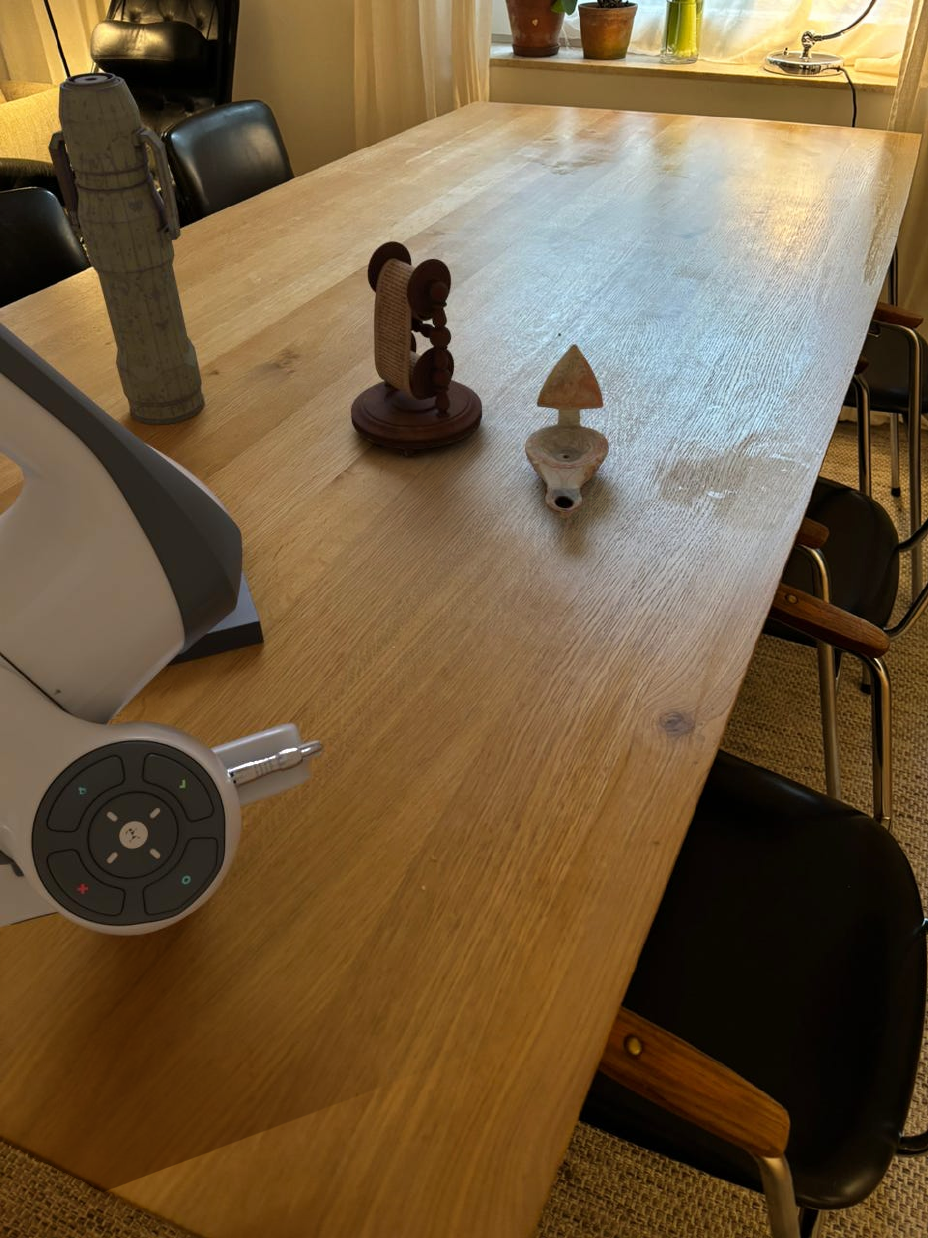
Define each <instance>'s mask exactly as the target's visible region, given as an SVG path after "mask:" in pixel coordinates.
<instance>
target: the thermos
mask: <svg viewBox="0 0 928 1238" xmlns="http://www.w3.org/2000/svg"><path fill="white" fill-rule="evenodd" d="M58 89H59V90H58V91H59V92H58V121H59V124H60V128H61V130H58V131H56V132H53V133H52V135H51V138H50V141H49V144H48V146H47V148H48V152H49V155H50V159H51V162H52V166H53V168H54V173H55V175H56V179H57V183H58V185H59V189H60V192H61V196H62V199H63V202H64V205H65V208H66V213H67V217H68V221H69V226H70V229H71V230H72V231H73V232H74V233H75V234H77V235H78V237H80V238H82V239H83V242H84V245H85V248H86V253H87V256H88V260H89V263H90V266H91V267H92V268H93V269H94V271H95V272H96V274H97V277H98V280H99V284H100V288H101V292H102V295H103V299H104V303H105V307H106V311H107V314H108V315H107V316H108V319H109V321H110V326H111V329H112V334H113V337H114V342H115V345H116V348H117V350H116V359H115V365H116V368H117V373H118V376H119V380H120V384H121V387H122V391H123V395H124V396H125V397H126V399H127V402H128V406H129V412H130V415H131V416H132V417H133V419H134V420H135V421H138V422H140V423H142V424H147V425H159V426H160V425H169V424H176V423H179V422H183V421H186V420H188V419H190V418H192V417H194V416H196V415H198V414H199V413H200V412H201V411H202V410H203V408H204V407H205V397H204V394H203V391H202V385H203V383H202V375H201V372H200V371H201V370H200V366H199V361H198V356H197V351H196V348H195V346H194V344H193V342H192V341H191V339H190V338H189V335H188V333H187V328H186V327H187V326H186V323H185V317H184V312H183V308H182V304H181V298H180V295H179V289H178V284H177V280H176V275H175V271H174V265H173V264H174V258H175V249H174V244H173V241H177V240H178V239H179V238H180V237H181V226H180V225H181V224H180V218H179V209H178V206H177V201H176V195H175V190H174V186H173V181H172V176H171V170H170V165H169V161H168V155H167V151H166V150H167V149H166V145H165V143H164V141H162V139H161V138H160V137H159V136H158V134H157V133H156V132H155V130H149V129H147V127H146V126H142V119H141V115H140V111H139V110H140V109H139V107H138V104H137V102H136V100H135V98H134V96H133V94H132V93H131V91H130V88H129V87H128V85H127V83H126V81H125V79H124V78H122V77H120V76H116V75H115V74H114V73H110V72H104V71H103V72H101V71H100V72H99V71H98V72H97V71H95V72H85V73H78V74H74V75H71V76H69V77H66V78H65V80H64V81H62V82H61V83H60V84H59V88H58ZM147 145H148V147H149V148H150V150H151V151H152V154H153V158H154V165H155V168H156V173H157V179H158V183H159V188H160V192H161V194H160V192H159V190H158V189H157V187H156V185H155V180H154V176H153V173H152V172H151V171H150V167H149V162H150V158H149V153H148V147H147ZM73 171H74V173H73ZM74 174H75V176H74ZM74 177H75V178H76V180H75V178H74Z"/></svg>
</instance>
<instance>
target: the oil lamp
mask: <svg viewBox="0 0 928 1238" xmlns="http://www.w3.org/2000/svg"><path fill="white" fill-rule="evenodd" d="M536 406H537V407H538V408H546V409H553V410H554V409H555V410H557V411H558V413H557V414H558V415H557V422H556V424H551V425H549V426H548V425H547V426H545V427H542V428H539V429H538V430H537V429H536V430H535V431H533V432H532V433H531V434H530V435H529V436H528V437H527V439H526V440H525V444H524V452H525V455H526V458H527V459H528V463H529V464H530V466H531V468H532V470H533V471H534V472H535V474H537V475H538V476H539V477H540V479H542V480H543V481H544V483H545V484H546V487H547V488H546V490H547V493H546V495H545V498H544V499H545V503H546V506H547V507H548V508H549V510H550V511H551V512H552V513H554V514H555V515H557V516H558V517H560V518H562V519H566V518H568V517H570V516H572V515H574V514H575V512H577V511H578V510H579V509H580V507H581V506H582V504H583V497H582V494H581V488H582V487H583V485H584V484H585V483H586V482H588V481H589V480H590V479H592V478H593V477H594V476H595V475H596V473H597V472H598V471H599V470H600V468H601V466H602V464H603V463H604V461H605V460H606V458H607V456H608V454H609V452H610V443H609V440H608V438H607V437H606V436H605V435H604V434H603V433H601V432H600V431H598V430H596V429H593V428H590V427H587V426H583V425H581V410H595V409H601V408H603V407H604V398H603V394H602V390H601V387H600V384H599V381H598V379H597V377H596V375H595V372H594V370H593V369H592V366H591V365H590V363H589V362H588V360H587V359H586V357H585V355H584V354H583V353H582V351H581V349H580V348H579V346H578V344H576V343H573V344H571V345H570V346H569V348H568V349H567V350H566V352H565V353H564V354H563V355H562V356H561V357H560V359H559V360H558V361H557V363H556V364H554V366H553V368H552V369H551V371H550V373H549V374H548V375H547V377H546V379H545V381H544V382H543V385H542V387H541V389H540V391H539V393H538V397H537V400H536Z"/></svg>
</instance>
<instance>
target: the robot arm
mask: <svg viewBox="0 0 928 1238" xmlns="http://www.w3.org/2000/svg"><path fill="white" fill-rule="evenodd" d="M0 453H1V454H2V455H4V456H5V457H6V458H8V459H9V460H10V461H12V462H13V463H14V464H16V465H17V467H20V469H21V471H22V474H23V484H22V485H23V486H22V489H21V492H20V494H19V495H18V497H17V498H16V500H15V501H14V502H13V503H12V504H11V505H10V506H9V507H8V508H7V509H6V510H5V511H4V512H3V513H2V514H0V928H4V927H7V926H9V925H10V926H14V925H19V924H21V923H25V922H28V921H32V920H36V919H39V918H43V917H47V916H51V915H57V914H60V915H61V916H63V917H64V918H65V919H67V920H68V921H70V922H72V923H73V924H75V925H78V926H80V927H82V928H85V929H87V930H89V931H94V932H97V933H100V934H106V935H112V936H141V935H146V934H151V933H153V932H157V931H160V930H162V929H165V928H168V927H170V926H172V925H174V924H176V923H178V922H179V921H181V920H183V919H185V918H187V916H190V915H191V914H192V913H194V912H196V911H197V910H198V909H199V908H200V907H202V906H203V905H204V904H205V903H206V902H207V901H209V900H210V898H211V897H212V896H213V895H214V894H215V892H217V890H218V889H219V887H220V886H221V885H222V882H224V880H225V877H226V876H227V874H228V873H229V870H230V868H231V866H232V864H233V861H234V859H235V856H236V854H237V850H238V848H239V845H240V840H241V835H242V826H243V818H242V808H246V807H248V806H250V805H253V804H256V803H259V802H262V801H265V800H267V799H270V798H273V797H275V796H278V795H281V794H284V793H286V792H289V791H291V790H293V789H295V788H297V787H299V786H301V785H303V784H305V783H307V782H308V781H309V780H310V779H311V778H312V775H313V772H312V768H311V765H310V762H309V759H312V758H315V757H318V756H321V755H323V753H324V752H323V751H324V750H323V748H324V747H323V744H322V743H321V742H320V740H318V739H317V740H311V741H307V742H303V740H302V738H301V734H300V731H299V728H298V726H297V725H296V724H295V723H293V722H289V723H288V722H287V723H282V724H280V725H279V724H278V725H276V726H272V727H270V728H267V729H264V730H262V731H258V732H255V733H252V734H249V735H246V736H243V737H240V738H236V739H234V740H231V741H228V742H225V743H222V744H220V745H216V746H213V747H210V746H208V745H207V744H205V743H204V742H203V741H202V740H200V738H197V737H195V736H194V735H192V734H191V733H189V732H187V731H185V730H183V729H180V728H178V727H176V726H172V725H169V724H165V723H161V722H154V721H146V720H145V721H144V720H143V721H142V720H141V721H140V720H135V721H134V720H133V721H132V720H131V721H123V722H117V723H109V722H111V721H112V719H113V718H115V716H117V714H118V713H119V712H120V711H121V710H122V709H124V708H125V706H127V705H128V704H129V703H130V701H132V700H133V699H134V698H135V697H136V696H137V695H138V694H139V693H140V692H141V691H142V690H143V689H144V688H145V687H146V686H147V685H148V684H149V683H150V682H151V681H152V680H153V679H154V678H155V677H156V676H157V675H158V674H159V673H160V672H161V671H162V670H164V669H165V667H167V666H166V665H167V664H168V663H169V662H170V661H171V660H172V659H173V658H174V657H175V656H176V655H177V654H182V653H184V652H185V651H186V650H187V649H188V648H190V647H191V646H192V645H193V644H194V643H196V642H197V641H198V640H199V639H200V638H202V637H203V636H204V635H205V634H206V633H208V632H209V631H210V630H211V629H212V628H214V627H215V626H216V625H217V624H218V623H220V622H221V621H222V620H223V619H224V618H225V617H227V616H228V615H229V614H230V613H232V612H233V611H234V610H235V609H236V606H237V601H238V595H239V590H240V583H241V574H242V570H243V537H242V536H243V535H242V532H241V530H240V528H239V527H238V525H237V523H236V522H235V521H234V519H233V518H232V516H231V515H230V512H229V511H228V509H227V508H226V506H225V505H224V504H223V502H222V501H221V500H220V499H219V497H217V495H216V494H215V493H214V492H213V491H212V490H211V489H210V488H208V486H207V485H206V484H205V483H204V482H203V481H201V480H200V478H198V477H196V475H194V474H192V472H190V471H189V470H188V469H186V468H185V467H183V465H181V464H179V463H178V462H177V461H175V460H174V459H172V458H171V457H169V456H167V455H166V454H165V453H163V452H161V451H159V450H158V449H156V448H154V447H153V446H152V445H149V444H148V443H146V442H144V441H143V440H142V439H140V438H139V437H138V436H136V435H135V434H134V433H133V432H131V431H130V430H129V429H127V427H125V426H124V425H123V424H121V423H120V422H119V421H118V420H116V418H114V417H113V416H111V414H109V413H107V412H106V411H105V410H104V409H103V408H102V407H100V406H99V405H98V404H97V403H96V402H94V401H93V400H92V399H91V398H90V397H89V396H87V395H86V394H85V393H84V392H83V391H81V390H80V389H79V388H78V387H77V386H76V385H74V384H73V383H72V382H71V381H70V380H69V379H68V378H66V377H65V376H64V375H63V374H61V372H59V370H57V369H56V368H55V367H54V366H52V365H51V364H50V363H49V362H48V361H46V360H45V359H44V358H43V357H42V356H41V355H39V354H38V353H37V352H36V351H35V350H34V349H32V348H31V347H30V346H29V345H28V344H27V343H25V342H24V340H22V339H21V338H19V336H17V335H16V334H14V332H12V331H11V330H10V329H9V328H8V327H7V326H5V325H4V324H3V323H2V322H0ZM108 723H109V724H108Z"/></svg>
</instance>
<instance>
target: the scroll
mask: <svg viewBox="0 0 928 1238" xmlns="http://www.w3.org/2000/svg"><path fill="white" fill-rule="evenodd" d="M412 263H413V262H412V257H411V253H410V251H409V250H408V248H407V246H405V245H404V244H403V243H401V242H399V241H395V240H391V241H387V242H384V243H383V244H381V245H379V247H377V248H376V249H375V251H374V252H373V253H372V254H371V257H370V259H369V263H368V265H367V274H366V275H367V281H368V284H369V286H370V289H371V290H372V291H373V292H374V293H375V296H374V310H373V311H374V312H373V313H374V314H373V343H374V345H373V349H374V366H375V370H376V373H377V376H378V377H379V378H380V379H381V380H382V381H381V382H378V383H376V384H374V385H372V386H370V387H368V388H367V389H365V390H363V391H362V392H361V393H359V394H358V395H357V396H356V397H355V398H354V400H353V402H352V403H351V406H350V418H351V424H352V427H353V429H354V430H355V431H356V432H357V433H358V434H359V435H360V436H361V437H363V438H364V439H365V440H368V441H370V442H372V443H373V444H377V445H381V446H385V447H389V448H393V449H403V450H404V453H405V455H406V457H407V458H409V459H411V458H413V457H414V454H415V451H416V450H421V449H431V448H432V449H433V448H437V447H441V446H445V445H450V444H452V443H455V442H458V441H460V440H462V439H464V438H466V437H467V436H469V435H470V434H472V433H473V432H474V431H475V430H477V429H479V427H480V425H481V421H482V419H483V403H482V399H481V398H480V396H479V394H477V393H476V391H475V390H474V389H472V388H470V387H469V386H467V385H465V384H463V383H461V382H458V381H456V380H453V376H454V372H455V359H454V357H453V354H452V353H451V351H450V350H449V347H448V346H449V345H450V344H451V341H452V333H451V330H450V329H449V328H448V327H447V326H446V325H447V324H448V318H447V314H446V312H445V308H446V307H447V306H448V303H447V300H448V298H449V296H450V293H451V287H452V276H451V272H450V269H449V267H448V265H447V264H446V263H445V262H444V261H442V260H441V259H438V258H429V259H425V260H424V261H422V262H420V263H419V264H418V265H417V266H416V267H415V266H413V265H412ZM427 321H431V322H432V324H430V323H427ZM425 322H426V323H425ZM413 332H414V333H420V334H421V336H422V337H423V338H425V339H429V342H430V344H431V346H433V347H430V348H428V349H427V350H425V351H424V352H423V353H422V354H421V355H420V354H418V353H417V349H418V347H417V338H416V336H415V334H414V333H413Z"/></svg>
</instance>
